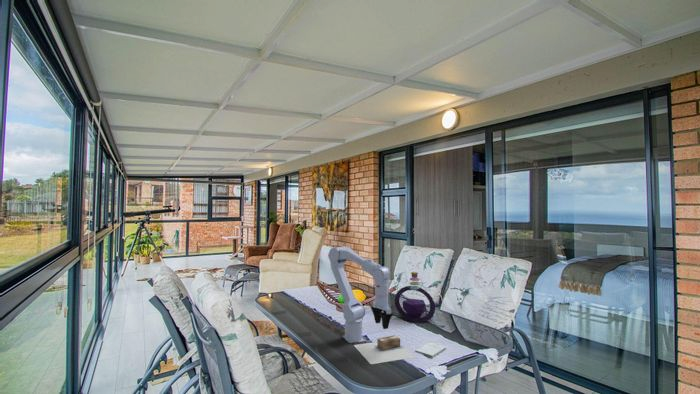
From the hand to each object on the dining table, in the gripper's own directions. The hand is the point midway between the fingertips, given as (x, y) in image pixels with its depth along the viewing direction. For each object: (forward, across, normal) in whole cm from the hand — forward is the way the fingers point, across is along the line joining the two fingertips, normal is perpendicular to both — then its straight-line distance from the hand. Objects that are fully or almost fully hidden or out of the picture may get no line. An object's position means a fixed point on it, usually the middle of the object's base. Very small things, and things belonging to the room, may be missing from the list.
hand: (381, 325), depth 159 cm
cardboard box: (+9, +1, +3) cm, 10 cm away
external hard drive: (+11, +10, +19) cm, 24 cm away
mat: (+10, +4, -1) cm, 11 cm away
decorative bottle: (+10, -32, +36) cm, 49 cm away
